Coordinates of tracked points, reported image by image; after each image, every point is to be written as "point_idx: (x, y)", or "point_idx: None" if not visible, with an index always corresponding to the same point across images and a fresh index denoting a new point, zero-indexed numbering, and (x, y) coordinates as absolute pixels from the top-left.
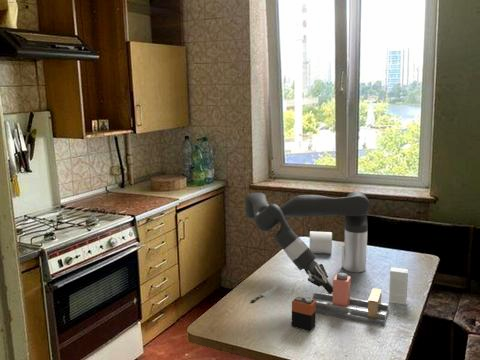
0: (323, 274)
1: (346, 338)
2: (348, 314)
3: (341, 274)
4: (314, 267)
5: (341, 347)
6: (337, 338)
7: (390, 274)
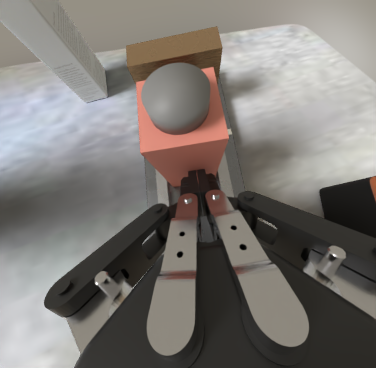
0: (197, 217)
1: (317, 111)
2: (231, 132)
3: (172, 95)
4: (305, 334)
5: (361, 106)
6: (331, 125)
7: (35, 7)
